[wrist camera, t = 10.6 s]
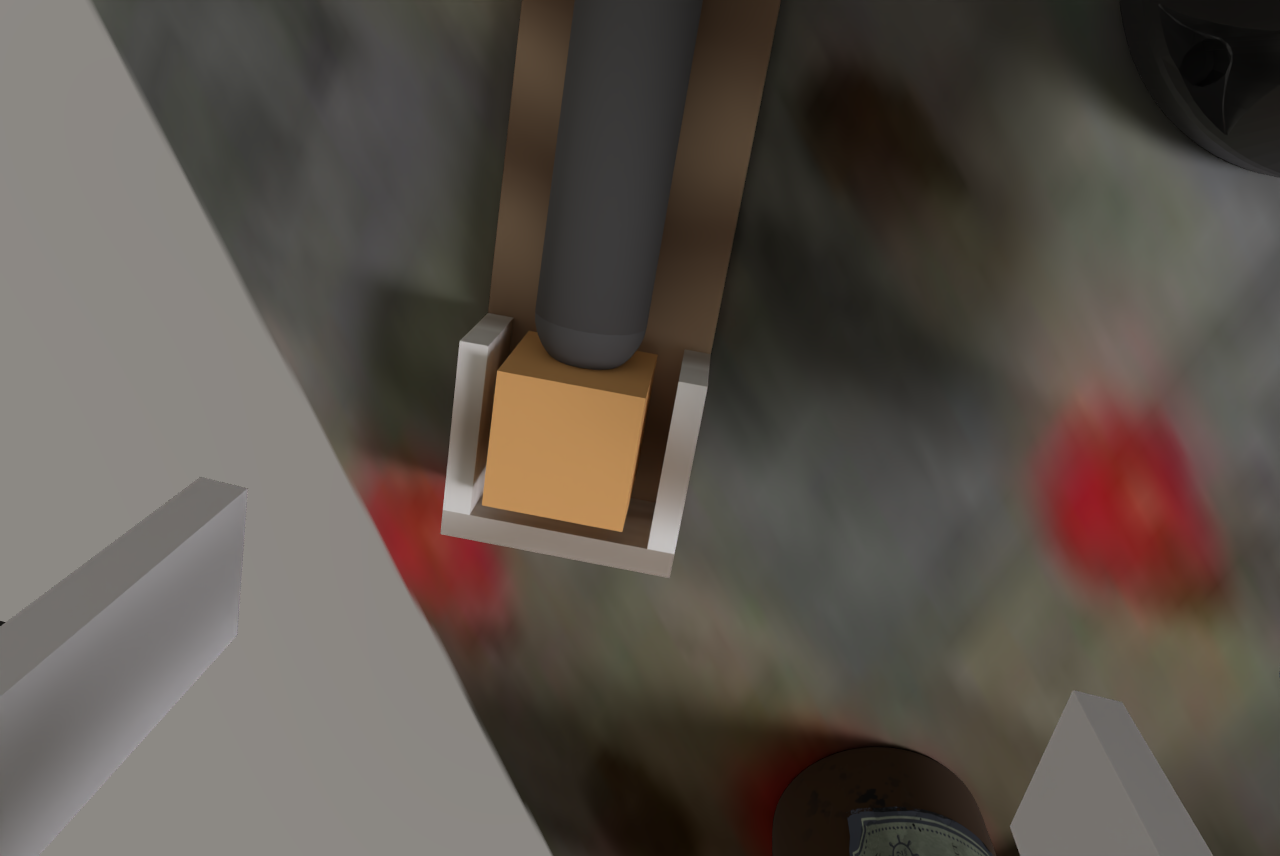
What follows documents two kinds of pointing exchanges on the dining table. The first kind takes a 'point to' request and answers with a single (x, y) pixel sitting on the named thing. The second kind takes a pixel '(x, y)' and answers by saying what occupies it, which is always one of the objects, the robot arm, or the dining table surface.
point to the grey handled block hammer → (596, 270)
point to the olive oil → (878, 809)
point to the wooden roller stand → (681, 296)
